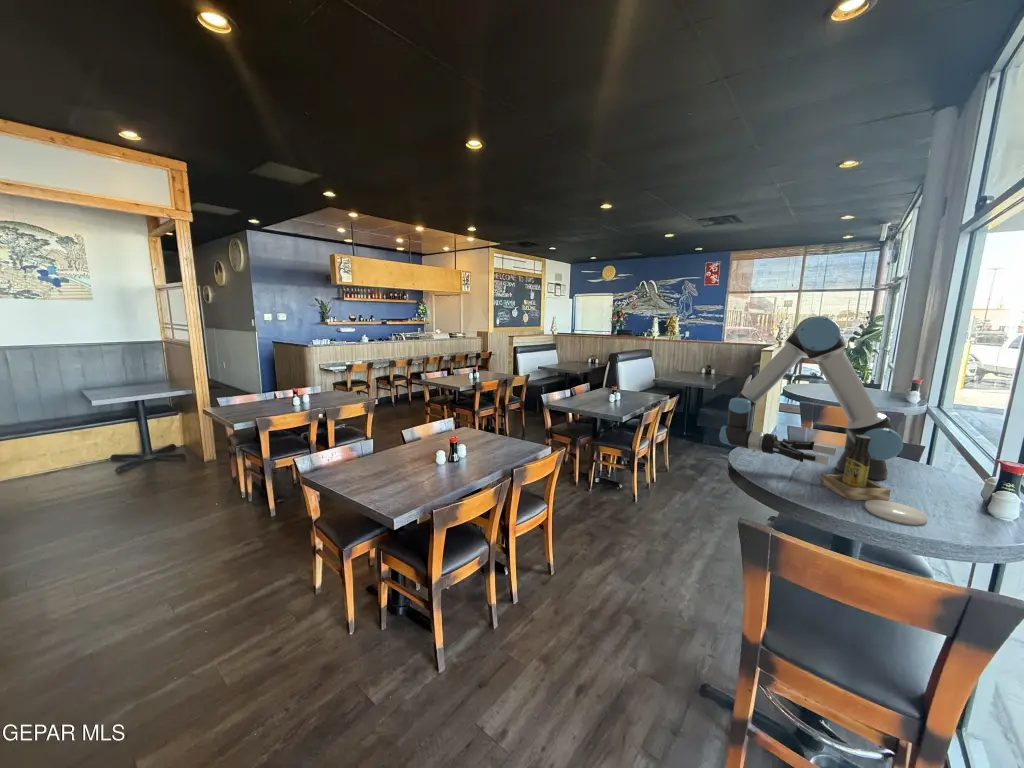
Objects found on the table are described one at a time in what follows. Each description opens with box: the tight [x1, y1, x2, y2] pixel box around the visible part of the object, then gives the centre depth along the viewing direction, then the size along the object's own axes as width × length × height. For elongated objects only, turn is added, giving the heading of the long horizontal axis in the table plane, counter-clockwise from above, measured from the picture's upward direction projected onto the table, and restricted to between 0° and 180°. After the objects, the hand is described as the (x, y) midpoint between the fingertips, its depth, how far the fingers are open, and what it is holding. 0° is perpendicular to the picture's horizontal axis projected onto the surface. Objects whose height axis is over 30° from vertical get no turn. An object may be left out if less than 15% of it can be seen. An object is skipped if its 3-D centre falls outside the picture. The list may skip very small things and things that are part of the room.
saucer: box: [864, 500, 928, 526], centre depth 125 cm, size 14×14×1 cm
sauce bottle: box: [842, 435, 871, 488], centre depth 140 cm, size 6×6×20 cm
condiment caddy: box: [819, 473, 891, 501], centre depth 141 cm, size 13×13×4 cm
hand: (831, 456), depth 144 cm, fingers open, 13 cm apart
